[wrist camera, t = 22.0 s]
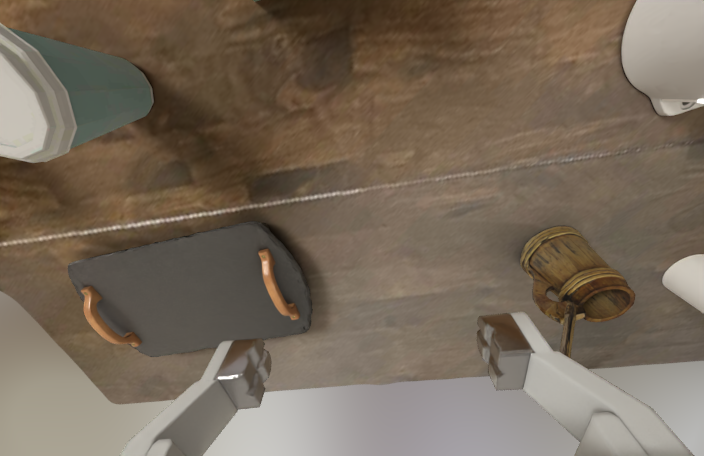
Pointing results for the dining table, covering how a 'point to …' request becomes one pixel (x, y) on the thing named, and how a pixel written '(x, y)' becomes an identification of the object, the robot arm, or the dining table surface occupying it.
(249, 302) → the serving tray
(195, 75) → the dining table surface
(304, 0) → the dining table surface
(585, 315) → the wooden mug
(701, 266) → the cylindrical container
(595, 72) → the dining table surface
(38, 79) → the disposable coffee cup
